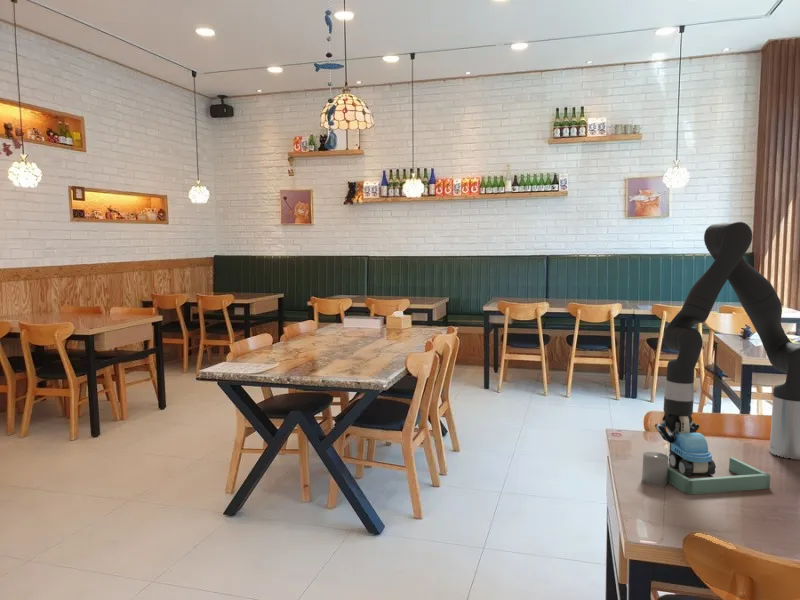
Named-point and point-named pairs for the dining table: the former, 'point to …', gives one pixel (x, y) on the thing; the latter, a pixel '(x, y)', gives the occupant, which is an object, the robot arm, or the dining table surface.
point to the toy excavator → (691, 452)
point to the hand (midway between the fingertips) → (675, 456)
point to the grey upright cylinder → (655, 469)
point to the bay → (722, 480)
